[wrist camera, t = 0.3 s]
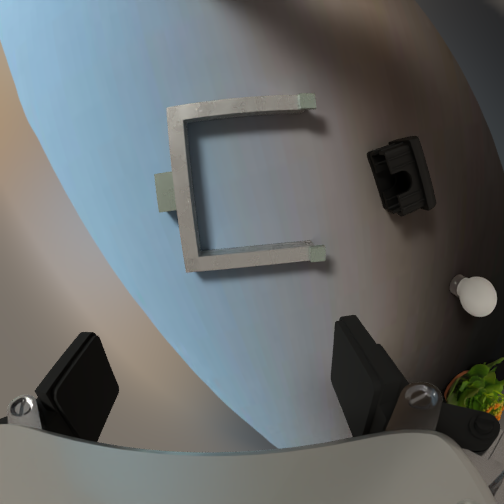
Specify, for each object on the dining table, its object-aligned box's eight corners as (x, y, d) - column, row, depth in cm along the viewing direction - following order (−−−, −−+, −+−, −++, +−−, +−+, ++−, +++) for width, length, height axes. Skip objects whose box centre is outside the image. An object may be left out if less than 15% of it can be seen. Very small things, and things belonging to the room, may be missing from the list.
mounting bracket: (155, 115, 35) (146, 110, 32) (307, 99, 36) (314, 93, 32) (173, 266, 41) (168, 276, 38) (318, 252, 42) (325, 260, 38)
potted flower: (419, 430, 58) (443, 474, 41) (412, 384, 51) (448, 438, 35) (486, 382, 55) (517, 417, 39) (491, 326, 49) (535, 363, 32)
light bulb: (446, 305, 46) (479, 331, 35) (442, 276, 44) (479, 301, 34) (469, 288, 45) (504, 311, 35) (466, 260, 44) (504, 280, 33)
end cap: (419, 197, 40) (444, 203, 34) (384, 212, 41) (407, 221, 34) (401, 137, 37) (425, 134, 31) (364, 149, 38) (385, 147, 31)
